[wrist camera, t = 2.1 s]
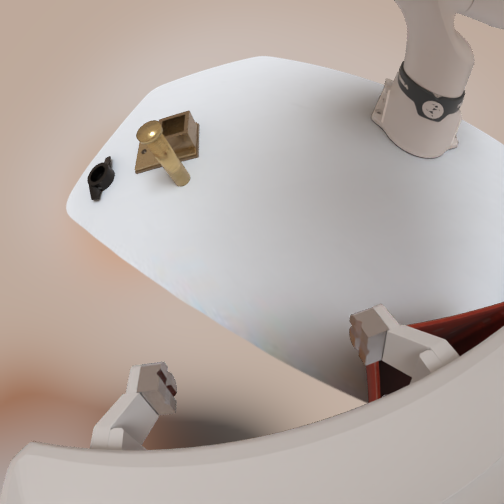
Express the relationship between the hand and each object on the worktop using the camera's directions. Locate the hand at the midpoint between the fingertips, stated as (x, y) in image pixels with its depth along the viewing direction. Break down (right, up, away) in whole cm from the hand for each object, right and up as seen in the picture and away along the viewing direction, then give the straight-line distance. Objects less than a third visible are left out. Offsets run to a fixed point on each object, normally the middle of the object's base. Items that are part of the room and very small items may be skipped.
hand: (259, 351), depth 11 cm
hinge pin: (-13, +17, +38) cm, 44 cm away
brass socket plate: (-17, +25, +42) cm, 52 cm away
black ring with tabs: (-32, +20, +43) cm, 58 cm away
